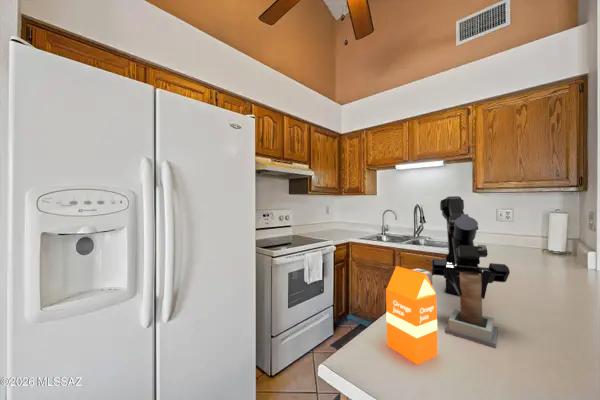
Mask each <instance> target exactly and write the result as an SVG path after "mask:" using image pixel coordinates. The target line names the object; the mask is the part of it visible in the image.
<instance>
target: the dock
mask: <svg viewBox="0 0 600 400" xmlns="http://www.w3.org/2000/svg"><path fill="white" fill-rule="evenodd" d="M482 322H483V323H482V324H479V325H476V324H470V323H467V322H465V321H463V320H462V319H461V309H456V308H454V310H453V312H452V313H451V315H450V317H449V319H448V323H447V325H446V327H445V329H444V334H445V333H446V334H448V335H451V336H455V337H459V338H461V339H464V340H468V341H471V342H475V343H477V344H481V345H484V346H487V347H490V348H494V349H496V348H497V340H498V333H499V327H498V326H495V318H493V317H488V316H485V315H482Z"/></svg>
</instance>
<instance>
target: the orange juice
mask: <svg viewBox="0 0 600 400" xmlns="http://www.w3.org/2000/svg"><path fill="white" fill-rule="evenodd" d="M385 290H386V291H385V294H386V296H385V299H386V307H385V309H386V320H385V321H386V345H387V347H389V348H391V349H392V350H393V351H396V352H397V353H398V354H400V355H402V356H403V357H404V358H406V359H408V360H409V361H411V362H412V363H414V364H415V365H416V366H418V365H420V364H422V363H424V362H426V361H428V360H430V359H432V358H434V357H437V356H438V355H439V354H438V351H439V350H438V348H439V347H438V316H437V315H438V313H437V312H438V311H437V309H438V308H437V307H438V306H437V293H436V291H435V288H434V287H433V284H432V285H431V283H430V281H429V279H428V277H427V275H426V274H425V273H421V272H417V271H414V270H413V269H410V268H406V267H402V266H398V265H396V266H395V268H394V271H393V273H392V275H391V277H390V280H389V282H388V284H387V287H386V288H385Z"/></svg>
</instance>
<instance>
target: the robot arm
mask: <svg viewBox="0 0 600 400" xmlns="http://www.w3.org/2000/svg"><path fill="white" fill-rule="evenodd" d="M464 203H465V202H464V199H462V197H461V196H447V197H446V198H443V199H441V200H440V201H439V210H440V211H441V216H442V217H443V218H444V219H445V220H446V230H447V231H446V233H447V234H446V235H447V249H448V251H447V252H448V253H447V254H446V257H445V258H444V259H443V258H432V259H431V272H432V276H433V275H434V276H442V277H443V278H444V279H445V290H444V293H447V294H449V295H450V294H451V295H456V296H459V297H460V296H461V288H460V272H473V273H477V274H480V275H481V285H482V300H485V298H486V293H487V288H488V284H493V283H494V282H497V283H506V282H507V280H508V278H509V276H510V269H509V266H508V265H506V264H503V263H494V262H493V263H492V262H490V263H489V265H488V267H482V266H479V265H480V261H481V260H480V259H481V258H487V257H488V255H489V253H488V249H487V245H486V244H478V245H477V246H476V245H475V243H474V241H475V238H476V235H477V231H478V230H479V226H478V225H479V223H478V221H477V220H476V219H475V218H473V217H472V216H469V214H466V213H465V212H464V209H465V204H464Z"/></svg>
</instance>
